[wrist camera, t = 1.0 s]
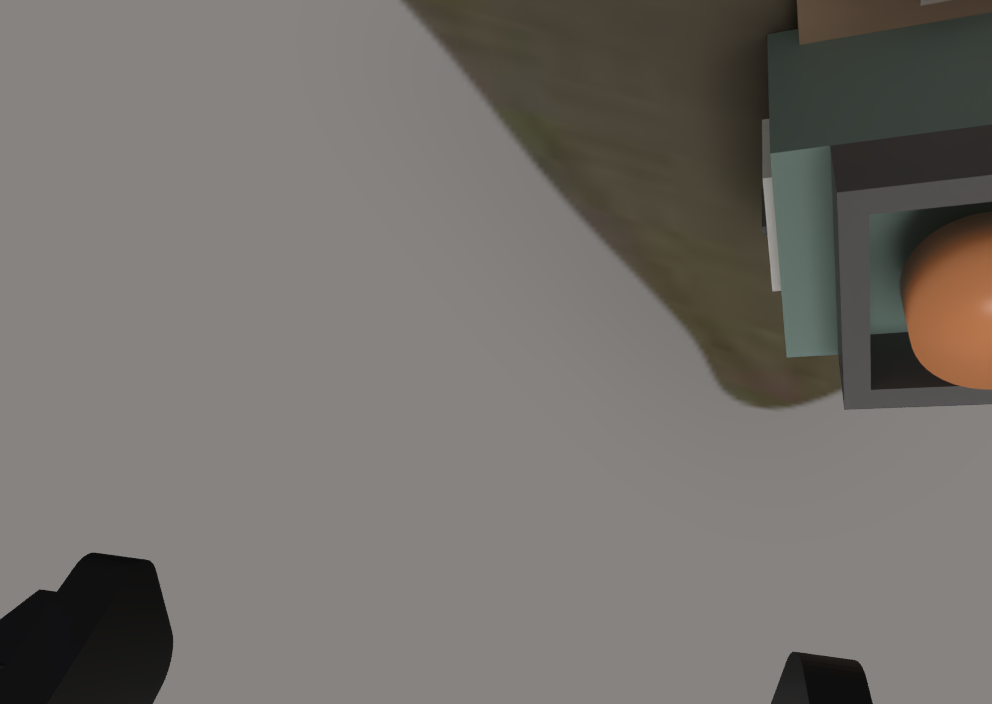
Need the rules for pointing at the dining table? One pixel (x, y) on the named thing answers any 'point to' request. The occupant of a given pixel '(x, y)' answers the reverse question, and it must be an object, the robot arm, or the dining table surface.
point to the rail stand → (876, 15)
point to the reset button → (952, 301)
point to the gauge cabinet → (872, 190)
